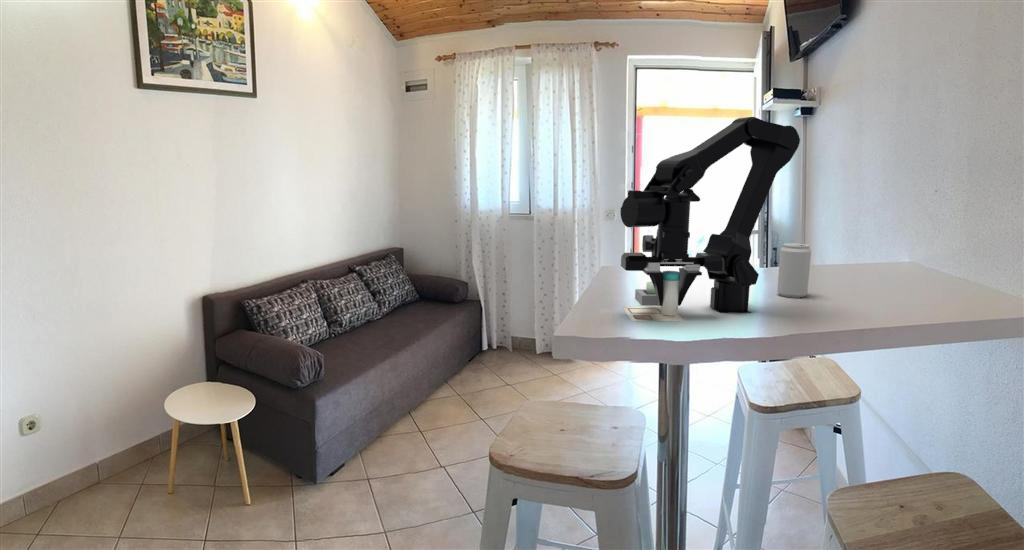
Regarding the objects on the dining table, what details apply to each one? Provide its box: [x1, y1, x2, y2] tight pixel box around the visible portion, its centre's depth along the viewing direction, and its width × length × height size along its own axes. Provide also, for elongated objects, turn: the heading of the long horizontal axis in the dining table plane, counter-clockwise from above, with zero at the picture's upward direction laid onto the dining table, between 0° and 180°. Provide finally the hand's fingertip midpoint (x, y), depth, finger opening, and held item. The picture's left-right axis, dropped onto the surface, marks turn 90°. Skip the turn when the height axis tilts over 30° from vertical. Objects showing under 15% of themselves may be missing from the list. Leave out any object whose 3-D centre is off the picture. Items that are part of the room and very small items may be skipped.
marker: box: [660, 270, 680, 315], centre depth 117 cm, size 3×3×8 cm
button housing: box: [634, 288, 660, 306], centre depth 130 cm, size 7×7×2 cm
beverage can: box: [776, 242, 812, 299], centre depth 138 cm, size 6×6×12 cm
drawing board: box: [621, 305, 686, 322], centre depth 120 cm, size 12×14×1 cm
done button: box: [645, 281, 656, 294], centre depth 130 cm, size 4×4×2 cm
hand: (669, 305), depth 117 cm, fingers closed on marker, 3 cm apart
